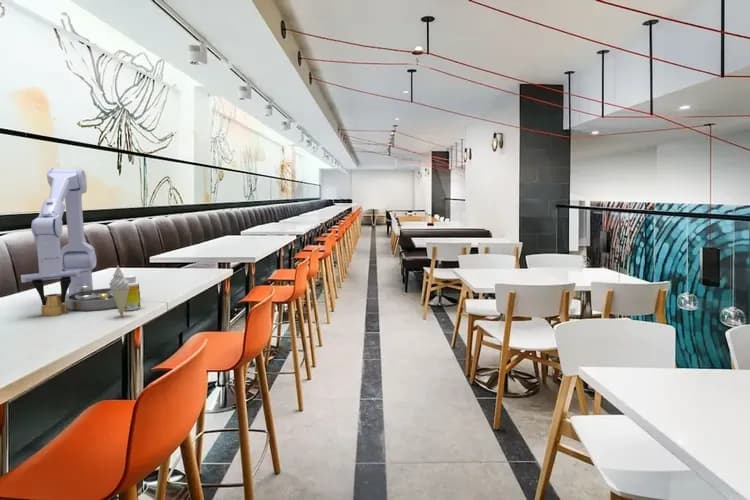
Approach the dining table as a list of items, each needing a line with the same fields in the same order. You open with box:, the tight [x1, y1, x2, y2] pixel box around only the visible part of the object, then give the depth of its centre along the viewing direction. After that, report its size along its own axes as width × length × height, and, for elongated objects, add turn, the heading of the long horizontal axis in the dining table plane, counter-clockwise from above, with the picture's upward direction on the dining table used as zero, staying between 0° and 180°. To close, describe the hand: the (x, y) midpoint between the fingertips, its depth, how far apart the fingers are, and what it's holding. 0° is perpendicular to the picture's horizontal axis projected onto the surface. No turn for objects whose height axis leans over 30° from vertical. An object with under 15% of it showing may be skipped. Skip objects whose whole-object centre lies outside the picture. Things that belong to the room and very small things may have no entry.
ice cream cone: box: [108, 264, 129, 317], centre depth 142 cm, size 5×5×15 cm
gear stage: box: [65, 284, 141, 312], centre depth 159 cm, size 21×21×6 cm
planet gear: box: [40, 293, 68, 317], centre depth 147 cm, size 6×6×6 cm
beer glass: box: [124, 274, 141, 312], centre depth 151 cm, size 6×6×10 cm
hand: (53, 303), depth 147 cm, fingers closed on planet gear, 4 cm apart
